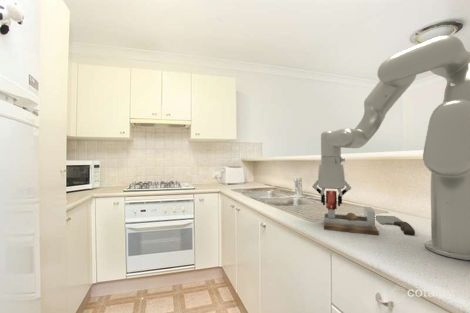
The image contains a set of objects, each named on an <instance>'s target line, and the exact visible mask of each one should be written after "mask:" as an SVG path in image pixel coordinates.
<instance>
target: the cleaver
mask: <svg viewBox="0 0 470 313" xmlns="http://www.w3.org/2000/svg"><path fill="white" fill-rule="evenodd" d="M375 216H376V217H375V218H376V219H375V222H378V223H379V224H380V225H384V226H385V225H386V226H394V227H399V228H400V230H401V231H403V235H405V236H415V235H416V230H415V229H414V227H413V226H412V225H411V224H410V223H408V222H407V221H404V220H402V219H401V218H399V217H398V216H396V215H375Z"/></svg>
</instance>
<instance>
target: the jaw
mask: <svg viewBox="0 0 470 313" xmlns="http://www.w3.org/2000/svg"><path fill="white" fill-rule="evenodd" d="M337 192H338V190H337V191H336V190H325V206H326V207H325V208H326V209H327V213H328V218H332V219H335V214H336V209H337V208H338V206H337V205H338V194H337Z"/></svg>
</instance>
